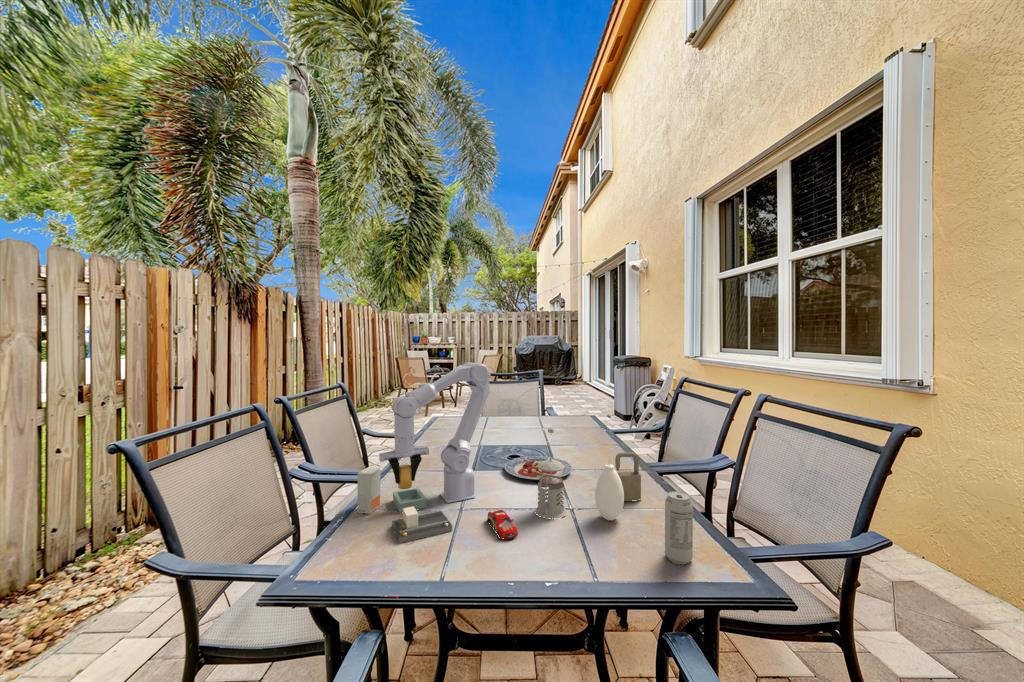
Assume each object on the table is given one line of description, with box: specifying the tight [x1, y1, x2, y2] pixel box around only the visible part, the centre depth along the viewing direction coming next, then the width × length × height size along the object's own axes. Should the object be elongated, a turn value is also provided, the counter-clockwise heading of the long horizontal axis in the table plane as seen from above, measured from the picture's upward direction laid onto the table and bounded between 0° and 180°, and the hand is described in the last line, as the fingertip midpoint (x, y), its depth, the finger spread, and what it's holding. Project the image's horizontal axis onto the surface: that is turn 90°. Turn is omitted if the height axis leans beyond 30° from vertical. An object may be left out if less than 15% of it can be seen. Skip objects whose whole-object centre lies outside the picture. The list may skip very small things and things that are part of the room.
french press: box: [534, 427, 568, 519], centre depth 118 cm, size 10×12×25 cm
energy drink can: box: [664, 490, 694, 565], centre depth 94 cm, size 6×6×15 cm
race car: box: [486, 508, 519, 540], centre depth 109 cm, size 13×5×4 cm, turn 21°
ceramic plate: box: [503, 455, 573, 481], centre depth 153 cm, size 26×26×3 cm
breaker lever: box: [402, 506, 419, 529], centre depth 107 cm, size 3×5×4 cm, turn 27°
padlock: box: [614, 451, 642, 501], centre depth 127 cm, size 4×8×15 cm, turn 91°
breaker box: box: [391, 509, 453, 545], centre depth 109 cm, size 14×10×3 cm
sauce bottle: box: [594, 456, 625, 521], centre depth 114 cm, size 8×8×18 cm
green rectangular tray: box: [392, 487, 427, 514], centre depth 124 cm, size 8×10×3 cm
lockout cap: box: [397, 464, 413, 490], centre depth 121 cm, size 4×4×6 cm
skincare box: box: [357, 466, 381, 515], centre depth 121 cm, size 6×4×12 cm
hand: (405, 481), depth 121 cm, fingers closed on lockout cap, 4 cm apart
